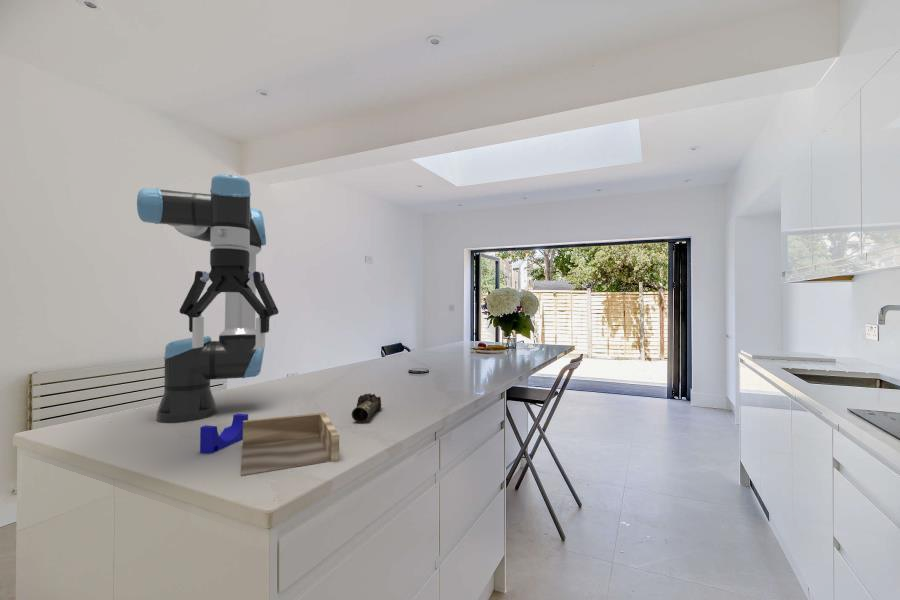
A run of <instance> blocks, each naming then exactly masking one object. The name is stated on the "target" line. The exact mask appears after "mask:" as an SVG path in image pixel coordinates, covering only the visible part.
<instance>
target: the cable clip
mask: <svg viewBox="0 0 900 600" xmlns="http://www.w3.org/2000/svg"><path fill="white" fill-rule="evenodd" d="M246 420H249V414H248V413H236V414H233V415H232V423H231V425H229V426H227V427H224V429H222V430H223V431H222V432H221V433H220V434H219V431H218V426H217V425H202V426H200V430H199V436H200V437H199V438H200V439H199V453H200V454H210V455H211V454H212V455H213V454H214V453H215V452H218V451H221V450H223V449H225V448H228V447H229V446H231V445H234V444H235V443H239V442H240V441H243V421H246Z"/></svg>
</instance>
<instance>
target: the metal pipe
mask: <svg viewBox="0 0 900 600" xmlns="http://www.w3.org/2000/svg"><path fill="white" fill-rule="evenodd" d="M380 409H382V399H381V396H376V394H375V393H373V394H371V392H370V393H364V394H361V395H360V396H358V399H357V403H356V407H354V408H353V410H352V411H351V418H352V419H353V420H354V421H355V422H356V423H360V424H364V423H366V422H367V421H368V420H369V418H371V416H372V415H373V414H374V413H375V412H380Z"/></svg>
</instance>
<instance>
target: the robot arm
mask: <svg viewBox="0 0 900 600" xmlns="http://www.w3.org/2000/svg"><path fill="white" fill-rule="evenodd" d="M210 183H211V184H210V191H209V192H210V193H209V194H208V193H201V192H199V193H198V192H190V191H189V192H188V191H187V192H186V191H178V190H168V189H162V188H161V189H160V188H147V187H146V188H141V189H139V191H138V193H137V199H136V210H137V216H138V217H139V219H140V220H141V222H144V223H150V224H155V225H159V224H160V225H168V226H170V227H173V228H174V229H175V230H176V231H177V232H178V233H179V234H181V235H184V236H185V237H189V238H192V239H195V240H199V241H202V242H209V243H210V247H212V248H211V250H210V251H209V266H210V271H209V272H207V271H203V270H196V271H195V274H194V281H193V283H192V285H191V286H190V289H189V291H188V293H187V295H186V297H185V298H184V300H183V303H182V304H181V307H180V308H179V313H180V314H181V315H185V316H187V317H188V329H189V332H190V333H192V337H191V338H183V339H179V340H174V341H170V342H168V343H167V344H166V345H165V348H164V349H165V350H164V357H163V360H164V382H163V383H164V392H163V395H162V398H161V400H160V403H159V406H158V408H157V410H156V421H157V422H160V423H164V422H165V423H168V424H176V423H187V422H189V421H190V422H195V420H196V421H201V420H204V418H205V419H208V418H210V417H213V416H215V415H216V414H217V404H216V401H215V398H214V396H213V392H212V390H211V380H213V381H214V380H226V379H245V378H246V379H247V378H255V377H257V376H259V375H260V374H261V370H262V364H263V358H264V351H265V348H266V334H268V333H269V331H270V318H271V317H273V316H275V315H278V314H279V309H278V307H277V305H276V303H275V301H274V298H273V297H272V295H271V292H270V291H269V290H270V289H269V288H268V286H267V284H266V281H265V280H266V279H265V274H264V272H261V271H257V255H258V254H259V253H261V251H262V247H263V246H266V245H267V238H266V227H265V221H264V216H263V212H262V210H260V209H258V208H251V196H252V195H251V194H252V193H251V184H250V182H249V180H247V179H246V178H244V177H242V176H238V175H233V174H217V175H214V176H213V177H212V178H211V182H210ZM209 281H211V284H210V285H209V286H208V287H207V288H206V292H205V293H203V291H204V289H205V287H206V285H207V282H209ZM256 292H257V293H258V295H259V297H260V299H259V297H257V296H256ZM202 293H203V295H202ZM221 293H224V295H225V299H224V300H225V301H224V302H225V303H224V329H223V331H221V332H220V334H218V340H212V338H211V337H210V336H204V334H205V330H204V329H205V328H204V325H205V323H204V322H205V321H204V320H205V317H204V316H203V315H202V314H203V313H204V311H205V310H206V309H207V308H208V307H209V305H210V304H211V303H212V302H213V300H215V298H216V297H217V296H218V295H219V294H221ZM201 295H202V296H201ZM260 300H261V301H262V302H261V301H260ZM256 313H257V315H258V317H256ZM200 419H201V420H200ZM165 423H164V424H165Z"/></svg>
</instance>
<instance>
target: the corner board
mask: <svg viewBox="0 0 900 600" xmlns="http://www.w3.org/2000/svg"><path fill="white" fill-rule="evenodd" d="M336 461H337V462H338V461H340V433H339V431H338V430H337V429H336V427H335V426H334V424H333V423H332V421H331V420H330V419H329V416H328V415H327V414H326V412H318V413H309V414H298V415H287V416H278V417H277V416H276V417H267V418H260V419H258V418H257V419H256V418H255V419H248V420H246V421H243V440H242V452H241V465H240V466H241V468H240V477H245V476H250V475H252V476H253V475H259V474H264V473H270V472H275V471H277V472H278V471H281V470H283V471H284V470H288V469H289V470H290V469H294V468H295V469H296V468H299V467H307V466H314V465H320V464H326V463H333V462H336Z"/></svg>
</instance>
